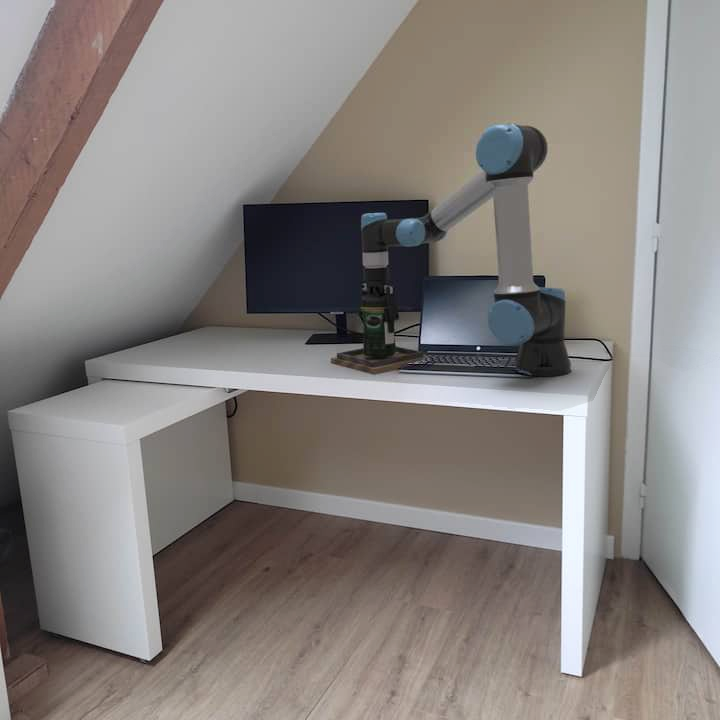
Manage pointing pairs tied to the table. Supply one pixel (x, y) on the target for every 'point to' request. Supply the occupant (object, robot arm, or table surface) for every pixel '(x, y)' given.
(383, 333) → the coffee jar
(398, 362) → the wooden tray
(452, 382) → the table surface
